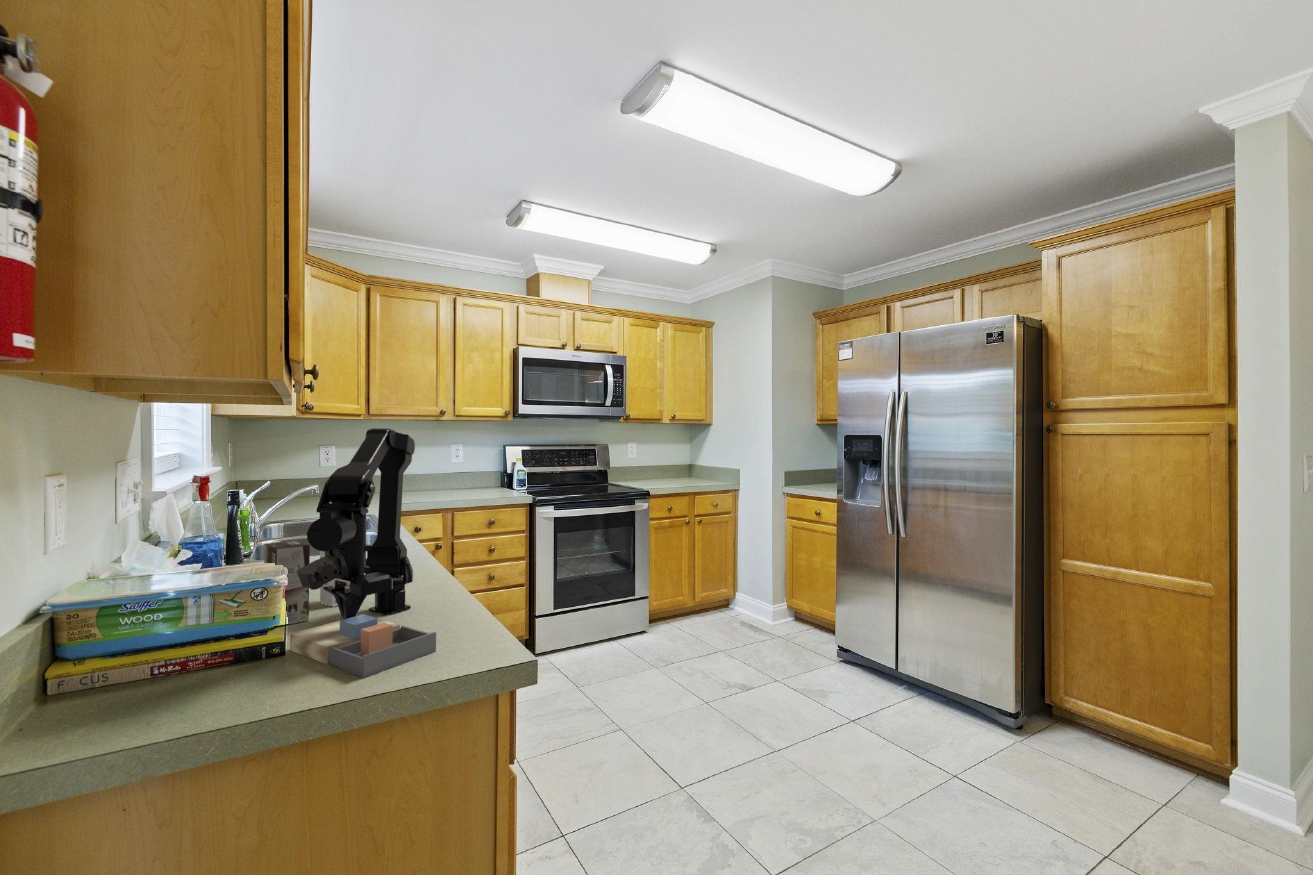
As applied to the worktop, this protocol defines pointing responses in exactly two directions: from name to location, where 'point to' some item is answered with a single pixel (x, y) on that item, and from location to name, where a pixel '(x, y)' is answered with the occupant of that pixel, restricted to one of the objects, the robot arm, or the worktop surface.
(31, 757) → the worktop surface
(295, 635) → the birch board
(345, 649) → the charcoal tray
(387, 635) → the terracotta tile
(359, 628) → the blue-glazed tile
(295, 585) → the coffee box
